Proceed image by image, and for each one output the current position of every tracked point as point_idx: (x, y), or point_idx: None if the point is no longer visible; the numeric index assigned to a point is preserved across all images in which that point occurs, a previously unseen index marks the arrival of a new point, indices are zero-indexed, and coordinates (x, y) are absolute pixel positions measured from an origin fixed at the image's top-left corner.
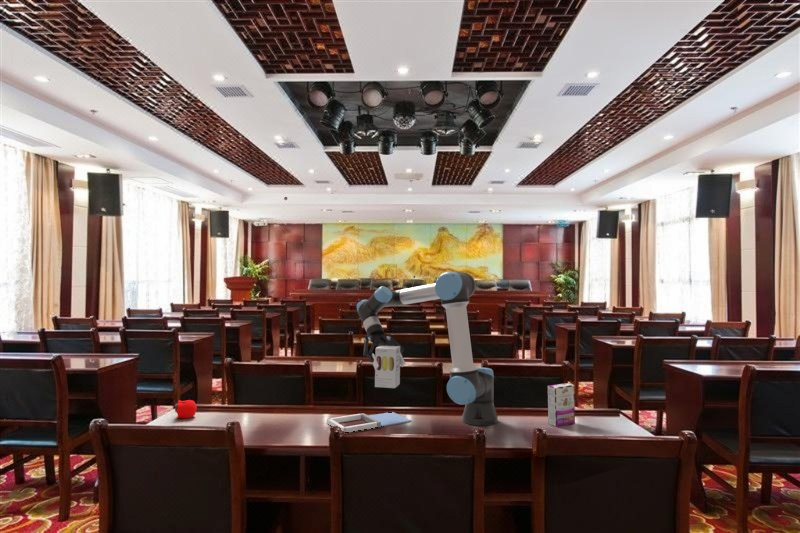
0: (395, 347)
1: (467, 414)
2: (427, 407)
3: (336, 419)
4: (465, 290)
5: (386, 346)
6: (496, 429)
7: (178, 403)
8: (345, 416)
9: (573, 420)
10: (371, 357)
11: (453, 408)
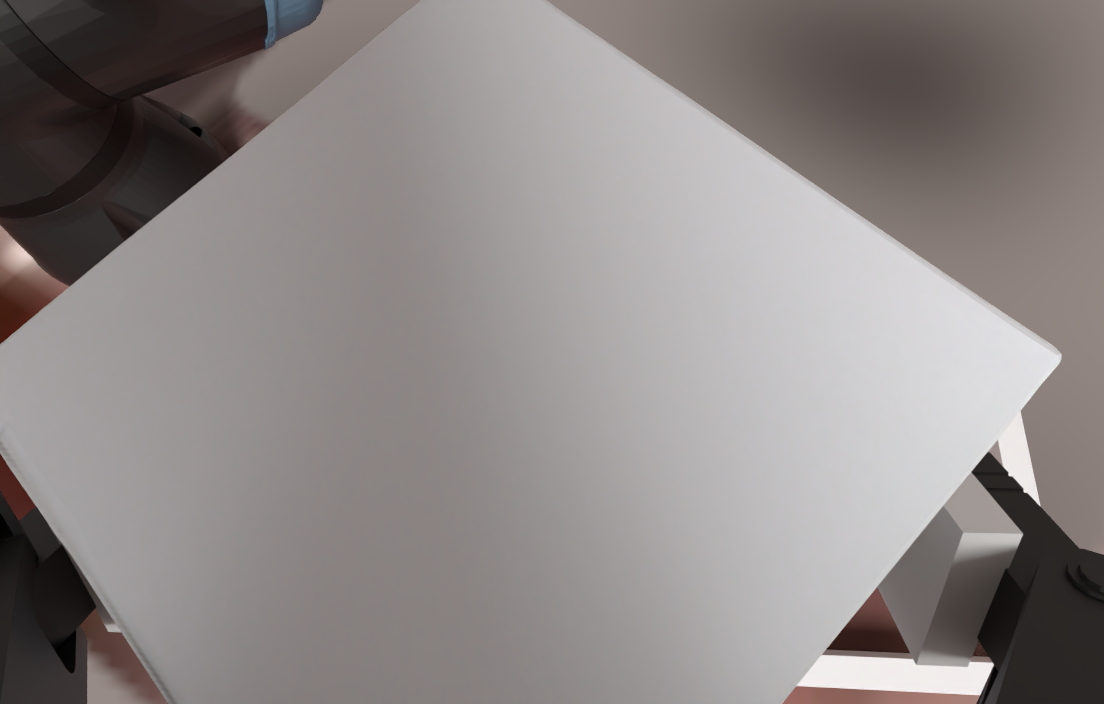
0: (321, 148)
1: (201, 177)
2: (128, 653)
3: (988, 661)
4: None
5: (458, 478)
6: (206, 75)
7: None
8: (902, 672)
9: None
10: (993, 495)
11: (20, 515)
